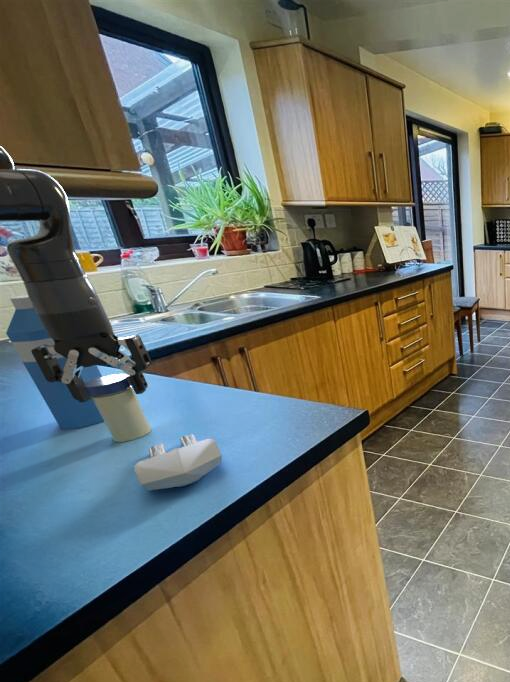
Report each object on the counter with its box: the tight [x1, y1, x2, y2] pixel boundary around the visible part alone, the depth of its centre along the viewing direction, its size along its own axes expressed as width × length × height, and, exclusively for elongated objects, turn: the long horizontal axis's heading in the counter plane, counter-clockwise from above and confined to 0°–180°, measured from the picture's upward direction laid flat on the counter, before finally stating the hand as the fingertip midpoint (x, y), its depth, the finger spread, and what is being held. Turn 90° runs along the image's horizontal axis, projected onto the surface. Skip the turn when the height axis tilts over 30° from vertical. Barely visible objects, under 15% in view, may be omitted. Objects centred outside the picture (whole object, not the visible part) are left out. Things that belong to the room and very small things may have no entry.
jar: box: [91, 386, 152, 443], centre depth 73 cm, size 5×5×10 cm
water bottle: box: [5, 294, 105, 430], centre depth 77 cm, size 9×9×25 cm
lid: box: [84, 373, 132, 396], centre depth 71 cm, size 6×6×2 cm
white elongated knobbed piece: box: [133, 433, 222, 491], centre depth 64 cm, size 10×20×5 cm, turn 45°
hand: (114, 396), depth 72 cm, fingers open, 7 cm apart
